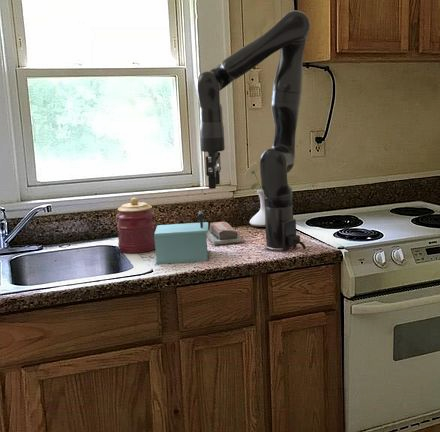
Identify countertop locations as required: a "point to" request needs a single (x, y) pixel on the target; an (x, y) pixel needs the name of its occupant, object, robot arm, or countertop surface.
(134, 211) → the kitchen canister
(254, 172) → the flower in vase
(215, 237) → the packaged product
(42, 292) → the countertop surface
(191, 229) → the freezer lid
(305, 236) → the countertop surface
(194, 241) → the box
